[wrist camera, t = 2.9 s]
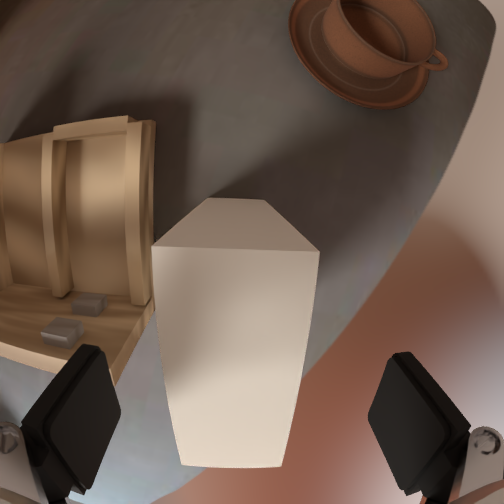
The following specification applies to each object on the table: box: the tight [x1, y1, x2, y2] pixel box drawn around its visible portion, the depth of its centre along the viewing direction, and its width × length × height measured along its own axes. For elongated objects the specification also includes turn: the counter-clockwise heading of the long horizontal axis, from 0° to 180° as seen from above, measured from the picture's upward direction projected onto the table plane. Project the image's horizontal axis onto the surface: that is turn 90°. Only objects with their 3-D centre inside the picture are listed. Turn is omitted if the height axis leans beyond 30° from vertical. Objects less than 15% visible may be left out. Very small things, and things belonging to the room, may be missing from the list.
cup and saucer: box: [288, 0, 448, 110], centre depth 14 cm, size 12×12×6 cm
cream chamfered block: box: [151, 198, 320, 468], centre depth 15 cm, size 9×5×14 cm, turn 177°
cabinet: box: [0, 115, 156, 386], centre depth 15 cm, size 14×16×10 cm
